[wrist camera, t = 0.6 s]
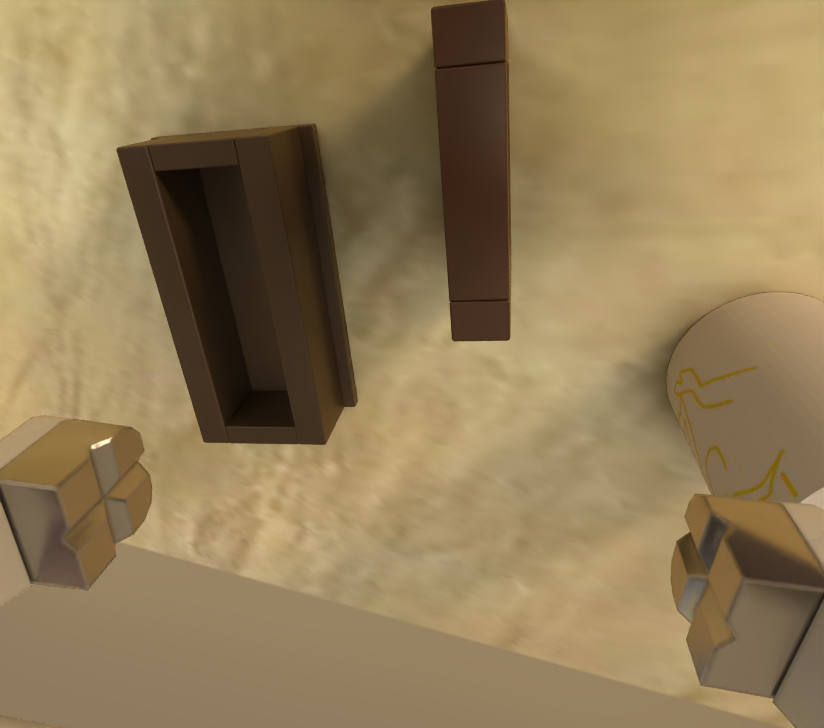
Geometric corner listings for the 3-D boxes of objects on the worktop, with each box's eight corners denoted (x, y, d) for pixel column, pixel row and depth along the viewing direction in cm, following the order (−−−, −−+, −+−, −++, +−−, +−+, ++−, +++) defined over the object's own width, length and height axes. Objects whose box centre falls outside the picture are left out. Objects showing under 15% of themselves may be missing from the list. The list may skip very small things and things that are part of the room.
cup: (655, 316, 27) (744, 480, 16) (858, 271, 25) (1111, 429, 14) (677, 457, 30) (764, 671, 20) (859, 429, 28) (1066, 654, 17)
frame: (508, 17, 22) (505, -2, 15) (511, 268, 27) (510, 341, 20) (456, 22, 23) (430, 6, 16) (467, 269, 27) (451, 342, 20)
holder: (315, 123, 25) (282, 133, 22) (357, 401, 32) (337, 445, 28) (156, 136, 27) (101, 148, 23) (227, 401, 33) (192, 443, 29)
